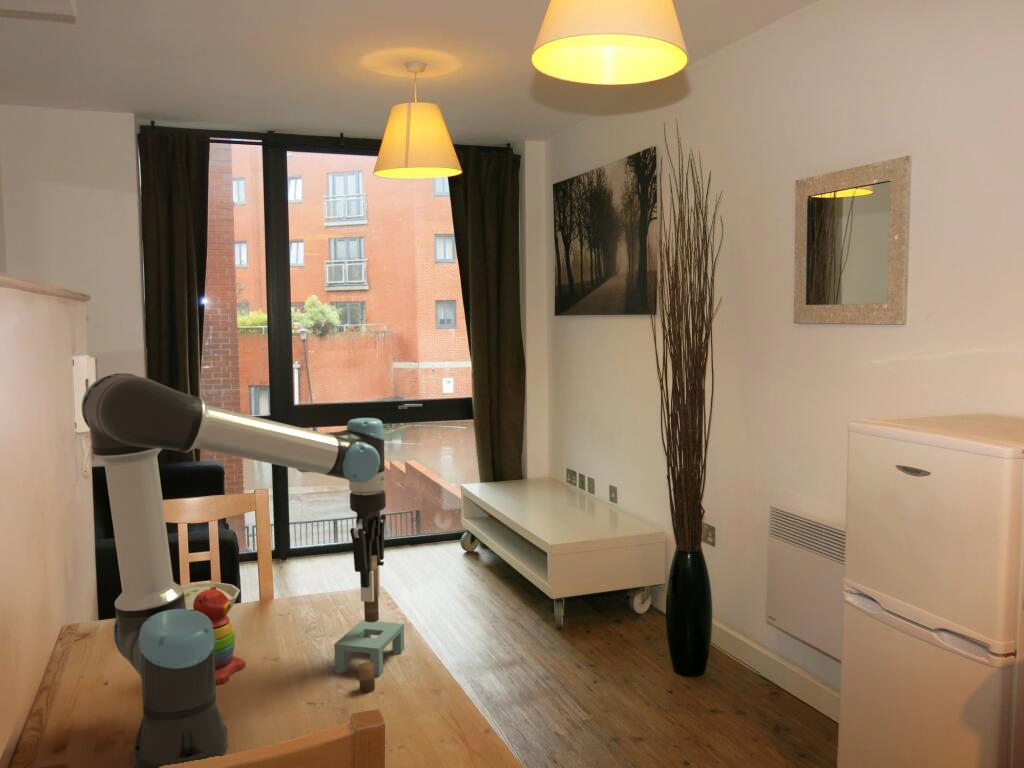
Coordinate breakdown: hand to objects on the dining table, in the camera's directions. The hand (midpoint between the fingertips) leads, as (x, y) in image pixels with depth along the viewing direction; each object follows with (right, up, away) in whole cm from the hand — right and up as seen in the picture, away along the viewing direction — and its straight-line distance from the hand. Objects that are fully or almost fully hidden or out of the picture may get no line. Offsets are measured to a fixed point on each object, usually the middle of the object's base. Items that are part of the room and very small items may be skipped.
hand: (370, 598), depth 181 cm
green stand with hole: (0, -14, +1) cm, 14 cm away
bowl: (-44, -13, +17) cm, 49 cm away
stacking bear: (-32, -15, -5) cm, 36 cm away
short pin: (+1, -15, -13) cm, 20 cm away
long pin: (0, -5, 0) cm, 5 cm away
